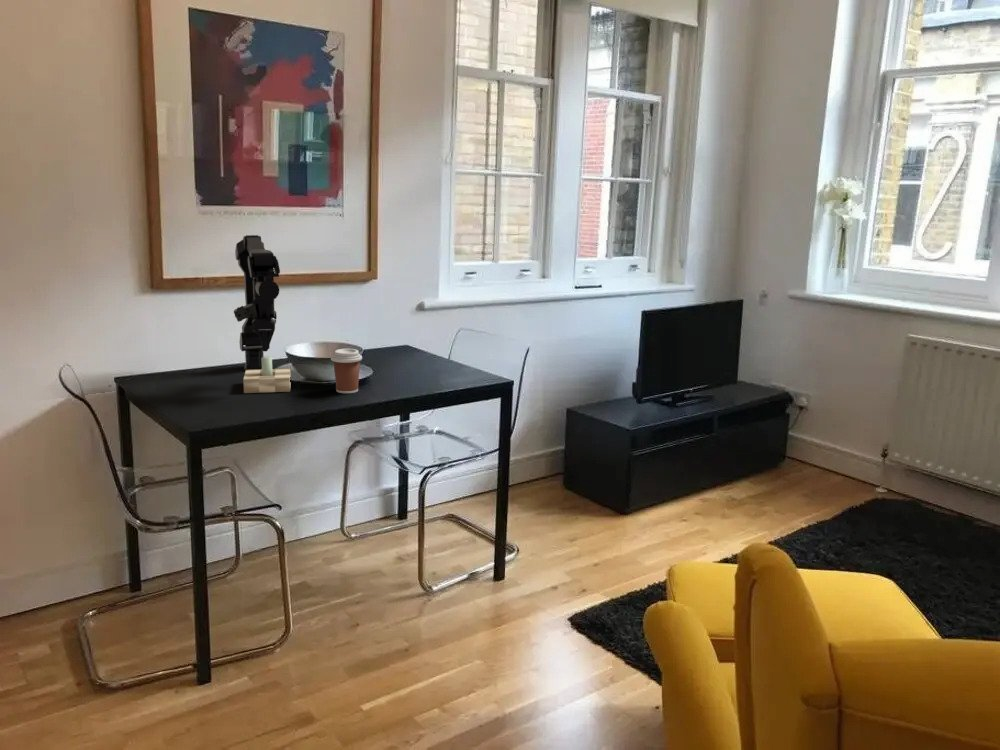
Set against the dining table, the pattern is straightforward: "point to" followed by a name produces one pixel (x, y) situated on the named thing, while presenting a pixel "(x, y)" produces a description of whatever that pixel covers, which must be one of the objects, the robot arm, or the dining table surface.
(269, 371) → the peg
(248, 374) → the hole board
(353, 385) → the coffee cup
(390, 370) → the dining table surface
